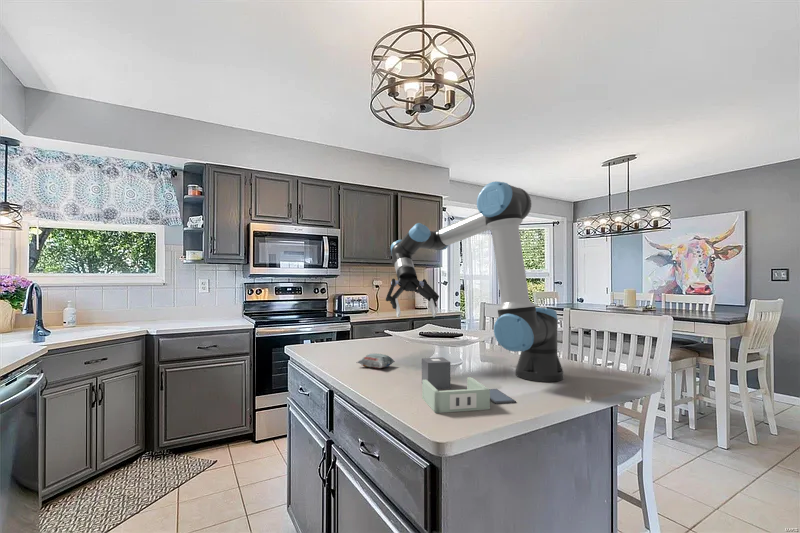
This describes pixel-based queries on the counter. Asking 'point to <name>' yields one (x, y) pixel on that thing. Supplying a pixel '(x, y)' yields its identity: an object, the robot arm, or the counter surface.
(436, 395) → the outlet bay
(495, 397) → the phone
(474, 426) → the counter surface
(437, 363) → the block
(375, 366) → the packaged food
